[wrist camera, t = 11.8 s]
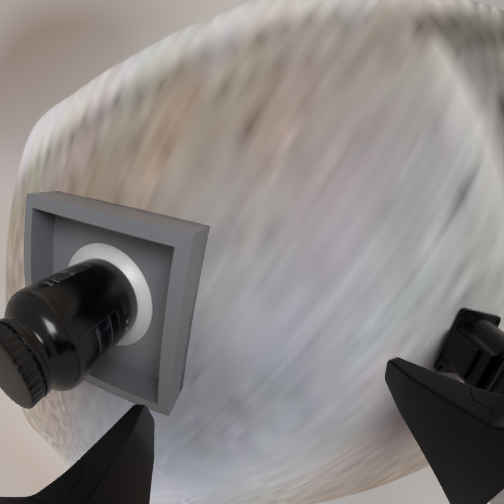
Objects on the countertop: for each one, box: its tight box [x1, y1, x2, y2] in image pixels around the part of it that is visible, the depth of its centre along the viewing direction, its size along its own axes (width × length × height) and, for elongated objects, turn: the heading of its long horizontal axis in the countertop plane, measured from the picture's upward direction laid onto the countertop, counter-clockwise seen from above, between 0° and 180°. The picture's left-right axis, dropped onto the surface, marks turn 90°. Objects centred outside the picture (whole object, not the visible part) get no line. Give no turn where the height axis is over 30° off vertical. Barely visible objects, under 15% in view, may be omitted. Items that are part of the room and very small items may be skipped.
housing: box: [24, 191, 210, 416], centre depth 20 cm, size 15×15×4 cm
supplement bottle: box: [0, 258, 138, 409], centre depth 15 cm, size 7×7×12 cm
